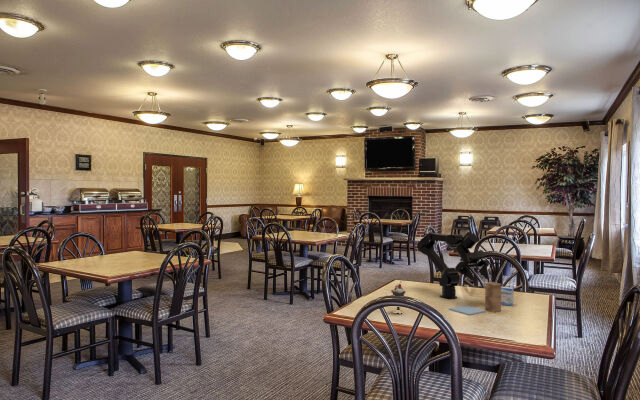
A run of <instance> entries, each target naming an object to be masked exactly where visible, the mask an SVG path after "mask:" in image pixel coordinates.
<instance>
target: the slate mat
mask: <svg viewBox="0 0 640 400" xmlns="http://www.w3.org/2000/svg"><path fill="white" fill-rule="evenodd" d="M448 311H453V312H456V313H459V314H464V315H467V316H473V315H477V314H482V313H487V310H485V309H481V308H478V307H473V306H469V305H465V304H464V305H460V306H455V307H448Z"/></svg>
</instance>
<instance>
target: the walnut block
mask: <svg viewBox="0 0 640 400" xmlns="http://www.w3.org/2000/svg"><path fill="white" fill-rule="evenodd" d="M501 287H502V283H498V282H494V281H491V282H485V289H484V291H485V292H484V293H485V295H484V296H485V297H484V310H486V312H487V311H488V312H491V313H497V312H501V311H502V305H501Z"/></svg>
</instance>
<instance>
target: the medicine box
mask: <svg viewBox="0 0 640 400" xmlns="http://www.w3.org/2000/svg"><path fill="white" fill-rule="evenodd" d="M514 289H515V288H514V287H510V286H501V306H509V307H513V305H514V291H515V290H514Z"/></svg>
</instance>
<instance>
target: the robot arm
mask: <svg viewBox="0 0 640 400" xmlns="http://www.w3.org/2000/svg"><path fill="white" fill-rule="evenodd" d="M436 241H437V242H442V243H443V242H444V243H445V244H448V245H450V246H454V248H453V252H452V253H453V254H457V255H458V256H459V257H460V259H459V262H458V263H457V264H456V266H455V268H454V267H449V266H448V265H447V264H446V263H445V262H444V260H443V259H442V258H441V257H440V256H439V254H438V253H437V252H436V251H435V244H436ZM478 242H479V238H478V236H477V235H475V234H474V233H472V232H471V231H467V232H466V233H465V235H464V236H463V235H462V234H460V233H459V234H458V233H456V234H445V233H444V234H443V233H436V232H429V233H427V234H426V235H425V236H424V237H423V238H421V239H420V240H419V241H418V242H417V244H416V247H417V250H418V251H419V253H422V254H423V255H425V256H427V257H428V259H429V260H430V262H432V264H433V265H434V267H436V269H438V271H439V272H440V274H441V275H440V277H441V279H440V280H439V282H438V284H439V286H440V287H441V295H439V296H440V297H441V298H443V299H448V300H449V299H450V300H451V299H457V298H458V297H457V296H456V295H457V294H456V293H457V292H456V287H457V286H458V285H459V283H460V278H461V277H460V275H459V274H461V275H463V276H464V277H466V278H468V279H469V280H471V281H473V282H475V280H476V278H475V276H474V274H473V273H472V271H471V269H473V268H474V269H475V268H476V269H477V270H478V273H480V274H481V275H482V277H483V278H485V279H486V280H489V279H490V277H489V273H488V267H489V265H490V264H491V263H490V261H489V259H481V258H484V257H485V255H486V254H485V251H484V250H483V249H479V250H477V251H476V250H475V251H473V252H471V251H470V250H471V249H472V248H474V246H475V245H476V244H477V243H478ZM455 246H456V247H455ZM479 259H480V261H479ZM440 297H439V298H440Z"/></svg>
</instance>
